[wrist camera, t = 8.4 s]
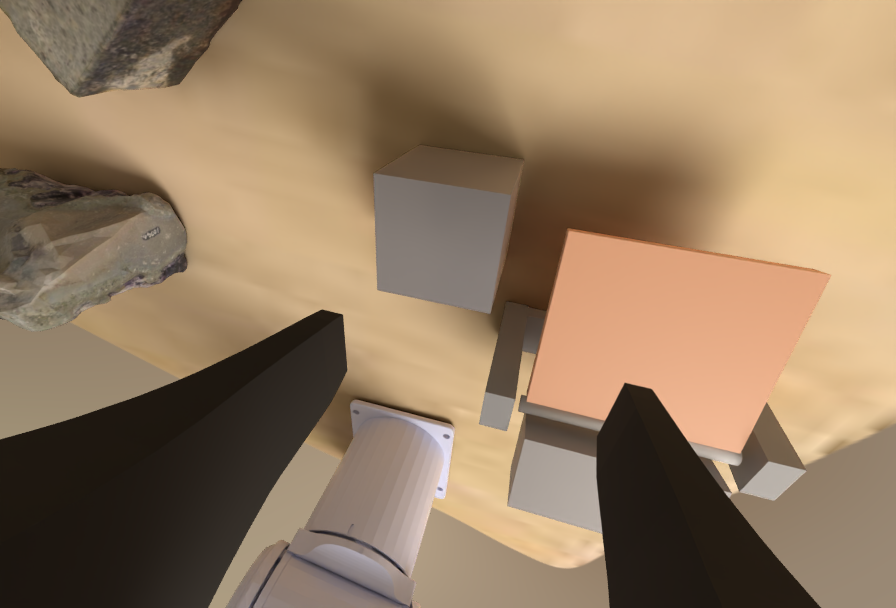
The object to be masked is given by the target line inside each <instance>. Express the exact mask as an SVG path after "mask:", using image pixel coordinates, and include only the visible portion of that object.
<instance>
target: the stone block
mask: <svg viewBox="0 0 896 608" xmlns="http://www.w3.org/2000/svg"><path fill="white" fill-rule="evenodd" d="M241 1H242V0H0V8H1V9H2V10H3V11H4V13H5V14H6V15H7V16H8V17H9V18H10V20H11V22H12V24H13V26H14V28H15V29H16V31H17V33H18V34H19V35H20V36H21V38H22V39H23V40H24V41H25V42H26V43H27V44H28V46H29V47H30V48H31V49H32V50H33V51H34V52H35V54H36V55H37V56H38V57H39V58H40V59H41V61H42V62H43V63H44V64H45V65H46V67H47V68H48V69H49V70H50V71H51V73H52V74H53V76H54V77H55V79H56V80H57V81H58V82H60V83H61V84H62V85H63V86H64V87H65V88H66V89H67V90H68V91H69V92H70V94H72V95H75V96H77V97H84V96H89V95H94V94H98V93H103V92H108V91H115V90H137V89H151V88H165V87H169V86H173V85H178V84H180V82H181V81H182V80H183V79H184V77H185V76H186V75H187V73H188V72H189V71H190V70H191V68H192V67H193V65H194V63H195V62H196V61H197V60H198V59H199V58H200V57H201V55H202V54H203V53H204V52H205V51H206V50H207V49H208V47H209V45H210V41H211V39H212V38H213V37H214V35H215V34H216V33H217V31H218V30H219V29H220V28H221V27H222V26H223V24H224V23H225V22H226V21H227V20H228V18H229V17H230V16H231V15H232V14H233V12H235V11H236V10H237V9H238V6H239V4H240V2H241Z"/></svg>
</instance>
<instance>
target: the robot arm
mask: <svg viewBox="0 0 896 608" xmlns="http://www.w3.org/2000/svg"><path fill="white" fill-rule="evenodd" d="M346 372H347V360H346V348H345V335H344V322H343V315H342V314H338V313H334V312H330V311H326V310H320V311H318V312H316V313H314V314H312V315H310V316H308V317H306V318H304V319H302V320H300V321H298V322H296V323H295V324H293V325H291V326H289V327H287V328H285V329H283V330H281V331H280V332H278V333H276V334H274V335H272V336H270V337H268V338H266V339H264V340H262V341H261V342H259V343H257V344H255V345H253V346H251V347H249V348H247V349H245V350H243V351H241V352H239V353H237V354H235V355H233V356H230V357H228V358H226V359H224V360H222V361H220V362H218V363H216V364H214V365H212V366H209V367H207V368H205V369H203V370H201V371H199V372H197V373H194V374H192V375H190V376H187V377H185V378H183V379H180V380H178V381H176V382H173V383H171V384H168V385H166V386H163V387H161V388H158V389H156V390H153V391H150V392H148V393H145V394H143V395H140V396H137V397H135V398H132V399H129V400H126V401H123V402H120V403H117V404H114V405H111V406H108V407H105V408H102V409H99V410H97V411H94V412H91V413H88V414H85V415H82V416H79V417H76V418H73V419H70V420H66V421H63V422H60V423H56V424H53V425H50V426H46V427H43V428H40V429H36V430H33V431H29V432H26V433H22V434H18V435H15V436H11V437H8V438H4V439H1V440H0V608H208V606H209V605H210V603H211V601H212V599H213V596H214V595H215V593H216V591H217V589H218V587H219V585H220V583H221V581H222V579H223V577H224V575H225V573H226V571H227V569H228V567H229V566H230V564H231V562H232V560H233V558H234V556H235V554H236V553H237V551H238V549H239V547H240V545H241V543H242V541H243V539H244V538H245V536H246V534H247V532H248V530H249V528H250V526H251V525H252V523H253V521H254V519H255V518H256V516H257V514H258V512H259V510H260V509H261V507H262V505H263V503H264V502H265V500H266V498H267V496H268V495H269V493H270V491H271V490H272V488H273V487H274V485H275V483H276V482H277V480H278V479H279V477H280V475H281V474H282V473H283V471H284V470H285V468H286V467H287V466H288V464H289V463H290V461H291V460H292V458H293V457H294V455H295V454H296V452H297V451H298V449H299V448H300V447H301V445H302V444H303V442H304V441H305V440H306V438H307V437H308V435H309V434H310V432H311V431H312V430H313V428H314V427H315V425H316V424H317V422H318V421H319V419H320V418H321V416H322V415H323V413H324V412H325V410H326V409H327V407H328V406H329V404H330V403H331V401H332V399H333V397H334V396H335V394H336V392H337V390H338V388H339V386H340V384H341V382H342V380H343V378H344V376H345V374H346ZM350 410H351V420H352V429H353V440H352V442H351V443H350V445H349V447H348V449H347V451H346V453H345V454H344V456H343V458H342V460H341V462H340V464H339V465H338V467H337V469H336V471H335V473H334V475H333V476H332V478H331V480H330V482H329V484H328V486H327V487H326V489H325V491H324V493H323V495H322V496H321V498H320V500H319V502H318V504H317V505H316V507H315V509H314V511H313V513H312V515H311V516H310V518H309V520H308V522H307V524H306V526H305V528H304V529H302V528H300V529H299V530H298V531H297V533H296V535H295V537H294V538H293V540H292V542H291V544H289V543H288V542H286V541H284V540H280V541H278V542H277V543H276V544H273V545H271V546H269V547H267V548H265V549H264V550H263V551H262V552H261V554H260V555H259V556H258V557H257V559H256V560H255V562H254V563H253V564H252V566H251V567H250V569H249V570H248V572H247V573H246V575H245V576H244V578H243V579H242V581H241V583H240V585H239V586H238V588H237V589H236V591H235V592H234V594H233V596H232V598H231V599H230V601H229V603H228V604H227V606H226V608H421V606H420V604H419V603H418V602H415V601H413V600H412V597H413V593H414V589H415V586H416V581H414V580H413V579H411V575H412V571H413V568H414V564H415V561H416V558H417V554H418V551H419V547H420V544H421V540H422V537H423V534H424V530H425V527H426V523H427V520H428V517H429V513H430V510H431V506H432V503H433V500H434V497H436V498H439V499H443V498H445V495H446V490H447V483H448V475H449V468H450V461H451V454H452V446H453V439H454V432H455V428H454V427H453V426H452V425H451V424H448V423H444V422H440V421H437V420H433V419H429V418H425V417H421V416H418V415H414V414H410V413H406V412H402V411H399V410H395V409H391V408H387V407H383V406H380V405H376V404H372V403H368V402H364V401H361V400H353V401H352V402H351V404H350ZM596 479H597V489H598V499H599V508H600V517H601V526H602V534H603V543H604V552H605V561H606V569H607V578H608V589H609V603H610V604H609V605H610V608H821V607H820V606H819V605H818V604H817V603H816V602H815V601H814V599H813V598H812V597H811V596H810V595H809V594H808V593H807V592H806V590H805V589H804V588H803V587H802V586H801V585H800V584H799V582H798V581H797V580H796V579H795V578H794V577H793V576H792V575H791V573H790V572H789V571H788V570H787V569H786V568H785V566H784V565H783V564H782V563H781V562H780V561H779V560H778V558H777V557H776V556H775V555H774V554H773V552H772V551H771V550H770V549H769V548H768V547H767V545H766V544H765V543H764V542H763V540H762V539H761V538H760V537H759V536H758V534H757V533H756V532H755V531H754V529H753V528H752V527H751V526H750V524H749V523H748V522H747V520H746V519H745V518H744V517H743V515H742V514H741V513H740V512H739V510H738V509H737V508H736V507H735V505H734V504H733V503H732V501H731V500H730V499H729V497H728V496H727V495H726V493H725V492H724V491H723V489H722V488H721V487H720V485H719V484H718V483H717V481H716V480H715V479H714V477H713V476H712V475H711V473H710V472H709V470H708V469H707V468H706V466H705V465H704V464H703V462H702V461H701V459H700V458H699V457H698V455H697V454H696V452H695V451H694V449H693V448H692V447H691V445H690V444H689V442H688V441H687V439H686V438H685V436H684V435H683V433H682V432H681V431H680V429H679V428H678V426H677V425H676V423H675V422H674V420H673V419H672V417H671V416H670V414H669V413H668V411H667V410H666V408H665V407H664V406H663V404H662V403H661V401H660V400H659V398H658V397H657V395H656V394H655V393H654V391H653V390H652V389H650V388H646V387H641V386H637V385H633V384H629V383H624V385H623V387H622V389H621V391H620V393H619V395H618V397H617V399H616V401H615V403H614V404H613V406H612V408H611V410H610V412H609V414H608V416H607V418H606V420H605V422H604V424H603V426H602V428H601V430H600V431H599V433H598V435H597V453H596Z"/></svg>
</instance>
